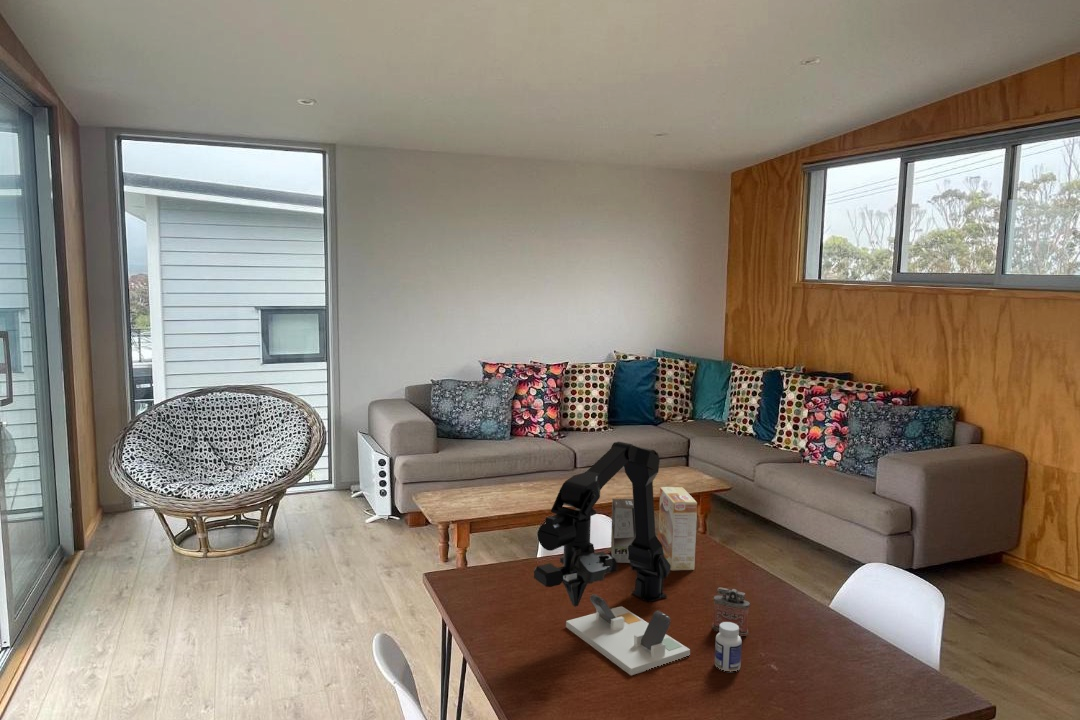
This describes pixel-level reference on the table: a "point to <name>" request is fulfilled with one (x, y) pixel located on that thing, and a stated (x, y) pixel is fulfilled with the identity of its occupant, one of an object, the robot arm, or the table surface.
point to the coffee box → (622, 529)
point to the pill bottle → (728, 647)
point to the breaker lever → (602, 608)
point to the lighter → (731, 609)
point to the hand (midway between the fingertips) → (575, 605)
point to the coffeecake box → (677, 527)
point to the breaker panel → (630, 639)
